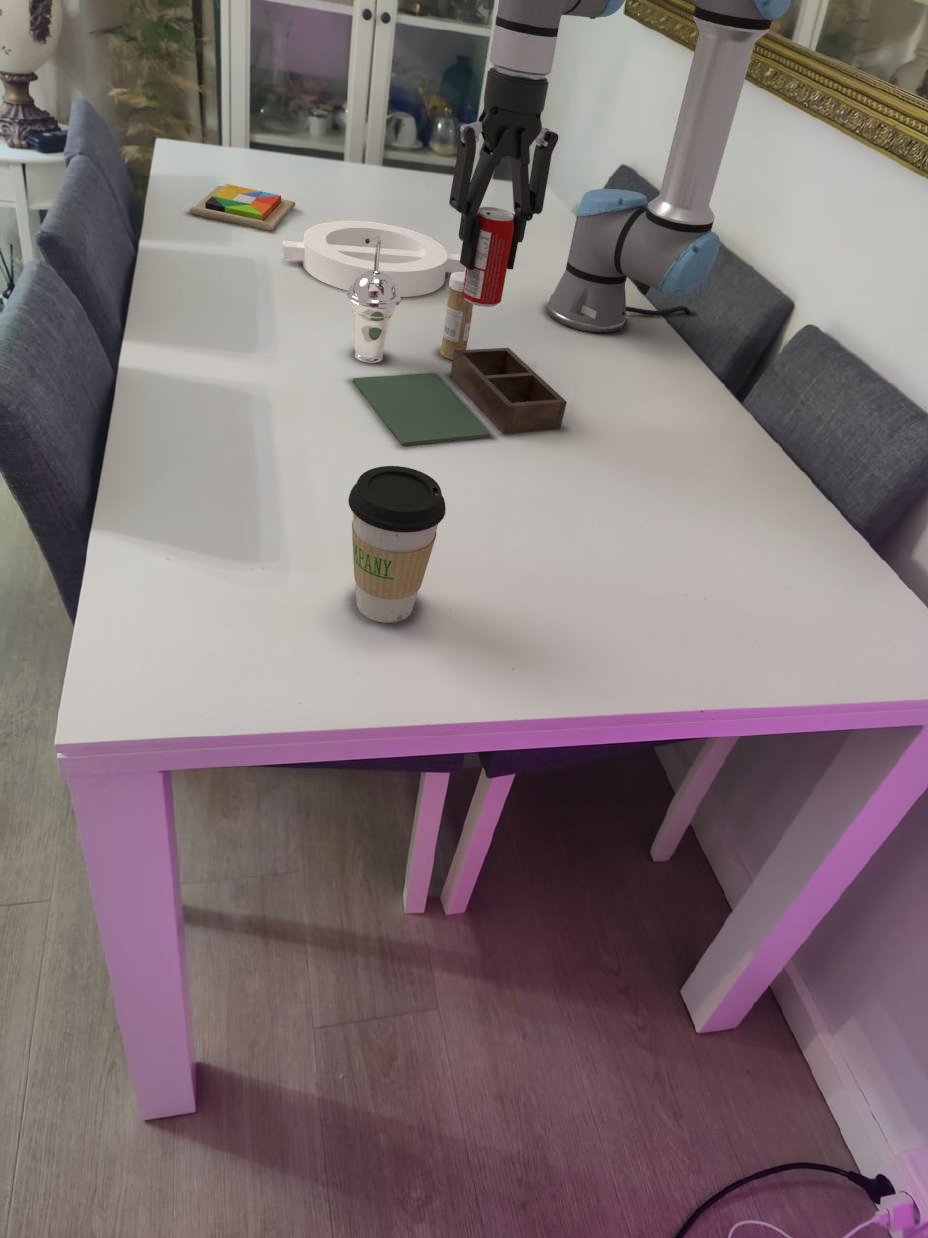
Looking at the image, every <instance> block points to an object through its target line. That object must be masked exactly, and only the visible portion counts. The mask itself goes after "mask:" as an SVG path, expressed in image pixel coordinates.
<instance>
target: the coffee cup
mask: <svg viewBox="0 0 928 1238" xmlns="http://www.w3.org/2000/svg"><path fill="white" fill-rule="evenodd" d="M347 499H348V500H347V501H348V507H349V509H350V510H351V512H352V520H351V538H352V557H353V558H352V559H353V561H352V562H353V577H354V582H355V593H356V595H355V596H356V597H355V599H356V607H357V609H358V611H359V612H360V613H361V614H362V615H363V616H364V617H366V618H367V619H369V620H371V621H375V622H378V623H386V624H388V623H389V624H392V623H399V622H401V621H404V620H405V619H407V618H408V617H409V616H410V615H411V614H412V612H413V610H414V606H415V603H416V600H417V596H418V594H419V593H418V592H419V590H420V589H421V587H422V585H423V584H422V583H423V581H424V577H425V574H426V571H427V568H428V564H429V561H430V557H431V555H432V551H433V549H434V545H435V542H436V539H437V529H438V525H439V524H440V523H441V522H442V521H443V520H444V517H445V516H446V511H447V510H446V509H447V508H446V501H445V498H444V496H443V492H442V488H441V486H440V485H439V483H438V482H437V481H436V480H435V479H434V478H433V477H431V476H430V475H428V474H427V473H425V472H423V471H420V470H418V469H416V468H415V469H414V468H411V467H406V466H399V465H382V466H378V467H377V466H376V467H373V468H371V469H368V470H366V471H363V473H362V474H361V475H360V476H359V477H358V479H357V481H356V483H355V484H354V485H353V487H352V488H351V489H350V492H349V495H348V498H347Z"/></svg>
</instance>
